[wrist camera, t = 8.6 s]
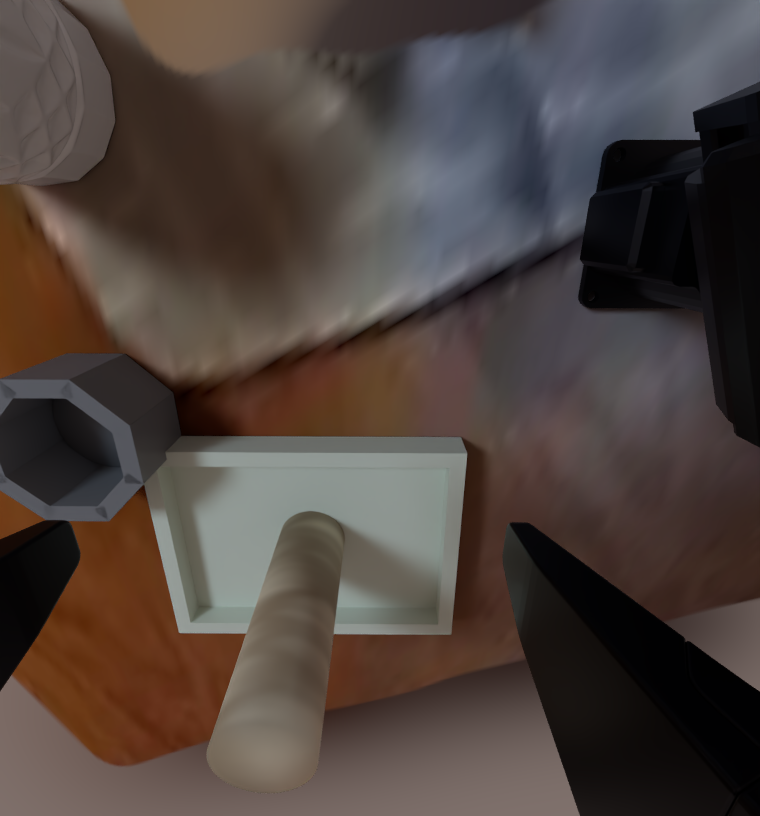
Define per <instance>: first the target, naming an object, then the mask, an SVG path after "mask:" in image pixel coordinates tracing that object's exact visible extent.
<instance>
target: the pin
mask: <svg viewBox="0 0 760 816" xmlns="http://www.w3.org/2000/svg"><path fill="white" fill-rule="evenodd" d="M344 542H345V536H344V532H343V529H342V527H341V526H340V524H339V523H338V522H337V521H336V520H335V519H333V518H332V517H331V516H329V515H327V514H324V513H321V512H316V511H306V512H301V513H298V514H295V515H293V516H292V517H290V518H289V519H288V520H287V521H286V522H285V523H284V525H283V527H282V530H281V533H280V535H279V538H278V541H277V544H276V547H275V550H274V553H273V556H272V559H271V562H270V565H269V568H268V571H267V574H266V577H265V580H264V583H263V586H262V589H261V592H260V595H259V598H258V601H257V604H256V607H255V610H254V613H253V615H252V618H251V621H250V624H249V627H248V630H247V633H246V636H245V639H244V642H243V645H242V648H241V651H240V654H239V657H238V660H237V663H236V666H235V669H234V672H233V675H232V678H231V681H230V684H229V687H228V690H227V693H226V695H225V698H224V701H223V704H222V707H221V710H220V713H219V716H218V719H217V722H216V725H215V728H214V731H213V734H212V737H211V740H210V743H209V746H208V749H207V761H208V764H209V766H210V768H211V770H212V771H213V772H214V773H215V774H216V775H217V776H218V777H219V778H221V779H222V780H223V781H225V782H226V783H228V784H230V785H232V786H234V787H237V788H240V789H243V790H246V791H251V792H258V793H278V792H285V791H289V790H293V789H295V788H298V787H300V786H302V785H304V784H305V783H306V782H308V781H309V780H310V779H311V778H312V777H313V776H314V774H315V772H316V770H317V767H318V761H319V752H320V744H321V735H322V727H323V719H324V710H325V702H326V693H327V685H328V677H329V668H330V660H331V651H332V643H333V635H334V626H335V618H336V609H337V601H338V593H339V584H340V576H341V567H342V559H343V551H344Z"/></svg>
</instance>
